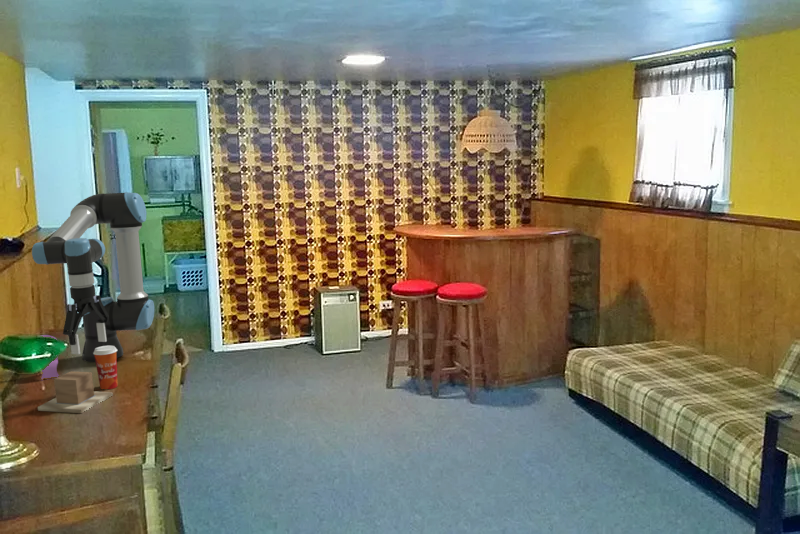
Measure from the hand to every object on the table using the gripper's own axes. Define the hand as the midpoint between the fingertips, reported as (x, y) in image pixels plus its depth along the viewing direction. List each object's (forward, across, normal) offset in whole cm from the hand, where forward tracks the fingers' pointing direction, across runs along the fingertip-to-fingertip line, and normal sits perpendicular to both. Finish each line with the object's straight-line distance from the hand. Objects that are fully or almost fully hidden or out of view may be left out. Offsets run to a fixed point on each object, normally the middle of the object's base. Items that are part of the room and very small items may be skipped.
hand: (89, 347), depth 244 cm
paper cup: (+16, -6, +1) cm, 18 cm away
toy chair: (+17, -14, -30) cm, 37 cm away
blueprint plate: (+16, +10, 0) cm, 19 cm away
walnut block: (+15, +10, 0) cm, 17 cm away
